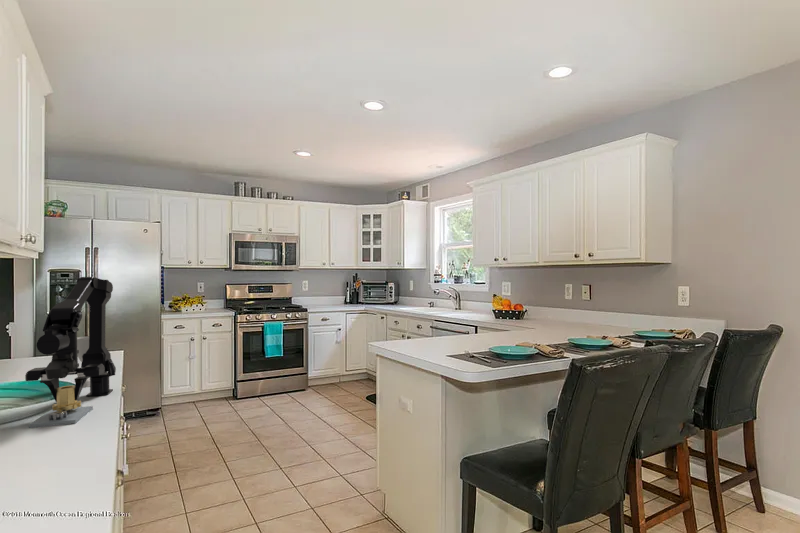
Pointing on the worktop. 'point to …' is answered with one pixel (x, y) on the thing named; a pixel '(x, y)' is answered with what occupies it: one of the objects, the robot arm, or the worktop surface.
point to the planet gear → (66, 399)
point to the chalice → (83, 347)
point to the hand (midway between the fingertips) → (66, 400)
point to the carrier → (61, 417)
